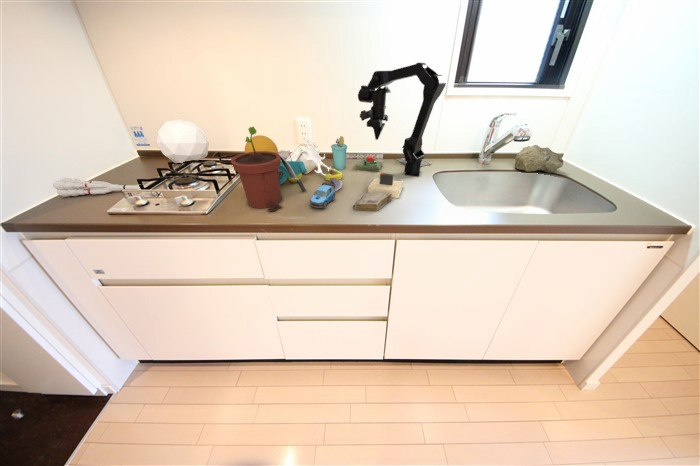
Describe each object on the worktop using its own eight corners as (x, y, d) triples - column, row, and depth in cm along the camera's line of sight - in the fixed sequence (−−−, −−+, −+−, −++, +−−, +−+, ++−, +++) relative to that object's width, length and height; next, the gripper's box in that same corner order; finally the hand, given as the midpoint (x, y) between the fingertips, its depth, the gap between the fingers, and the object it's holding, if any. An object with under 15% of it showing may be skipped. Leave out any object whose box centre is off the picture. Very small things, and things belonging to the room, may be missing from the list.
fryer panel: (402, 188, 102) (403, 181, 100) (398, 198, 94) (399, 190, 92) (373, 184, 105) (374, 177, 103) (367, 194, 97) (368, 186, 95)
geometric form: (147, 153, 122) (141, 125, 102) (182, 130, 133) (182, 101, 113) (184, 182, 129) (186, 162, 109) (214, 158, 140) (221, 136, 119)
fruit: (304, 183, 105) (302, 154, 99) (289, 186, 102) (285, 157, 96) (299, 177, 110) (295, 150, 103) (284, 180, 107) (279, 153, 101)
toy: (251, 173, 112) (282, 159, 113) (234, 141, 108) (265, 127, 109) (258, 173, 126) (285, 161, 127) (243, 145, 122) (270, 133, 123)
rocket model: (51, 173, 90) (144, 175, 95) (69, 182, 97) (155, 183, 102) (46, 192, 88) (142, 192, 93) (65, 200, 95) (153, 200, 100)
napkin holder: (412, 159, 133) (414, 145, 129) (421, 163, 128) (423, 148, 124) (407, 160, 132) (409, 146, 128) (415, 164, 127) (418, 149, 123)
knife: (346, 194, 97) (340, 172, 117) (346, 188, 95) (340, 166, 116) (326, 195, 96) (324, 172, 116) (326, 189, 94) (323, 167, 115)
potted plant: (252, 190, 99) (236, 122, 85) (306, 190, 99) (299, 123, 85) (235, 211, 84) (212, 134, 70) (298, 211, 84) (288, 135, 71)
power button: (374, 159, 122) (374, 156, 121) (372, 161, 119) (373, 158, 118) (367, 159, 122) (367, 155, 121) (365, 161, 120) (365, 157, 119)
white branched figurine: (303, 130, 112) (291, 140, 116) (295, 150, 99) (281, 161, 103) (332, 162, 123) (320, 170, 127) (328, 184, 109) (315, 193, 113)
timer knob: (392, 184, 98) (393, 173, 95) (392, 185, 97) (393, 175, 94) (380, 182, 99) (381, 172, 97) (379, 183, 98) (380, 173, 95)
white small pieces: (310, 130, 121) (314, 135, 122) (303, 136, 124) (307, 141, 126) (289, 159, 102) (294, 164, 103) (280, 165, 105) (285, 170, 107)
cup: (345, 173, 115) (345, 140, 107) (329, 173, 116) (327, 139, 108) (348, 164, 127) (348, 133, 119) (333, 163, 128) (332, 132, 119)
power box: (382, 166, 125) (383, 158, 122) (378, 171, 118) (379, 163, 115) (361, 163, 128) (362, 155, 125) (356, 169, 120) (356, 161, 118)
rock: (577, 152, 107) (566, 157, 120) (533, 132, 113) (527, 140, 127) (551, 183, 113) (543, 185, 126) (510, 163, 119) (507, 167, 132)
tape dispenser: (271, 183, 101) (262, 164, 97) (306, 170, 102) (298, 151, 98) (271, 187, 95) (262, 168, 91) (308, 174, 96) (300, 154, 92)
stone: (371, 215, 83) (371, 207, 81) (351, 208, 87) (351, 200, 85) (392, 199, 93) (393, 192, 91) (373, 194, 97) (374, 186, 95)
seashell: (290, 176, 110) (275, 180, 115) (307, 161, 120) (293, 166, 126) (277, 154, 105) (262, 160, 111) (296, 141, 115) (282, 147, 121)
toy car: (307, 207, 86) (307, 192, 83) (322, 195, 96) (322, 181, 93) (323, 211, 84) (323, 196, 81) (336, 198, 94) (336, 184, 91)
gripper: (367, 100, 122) (366, 134, 131) (356, 105, 107) (355, 142, 116) (389, 101, 119) (386, 135, 128) (381, 106, 104) (378, 144, 113)
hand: (376, 139), depth 121 cm, fingers closed
